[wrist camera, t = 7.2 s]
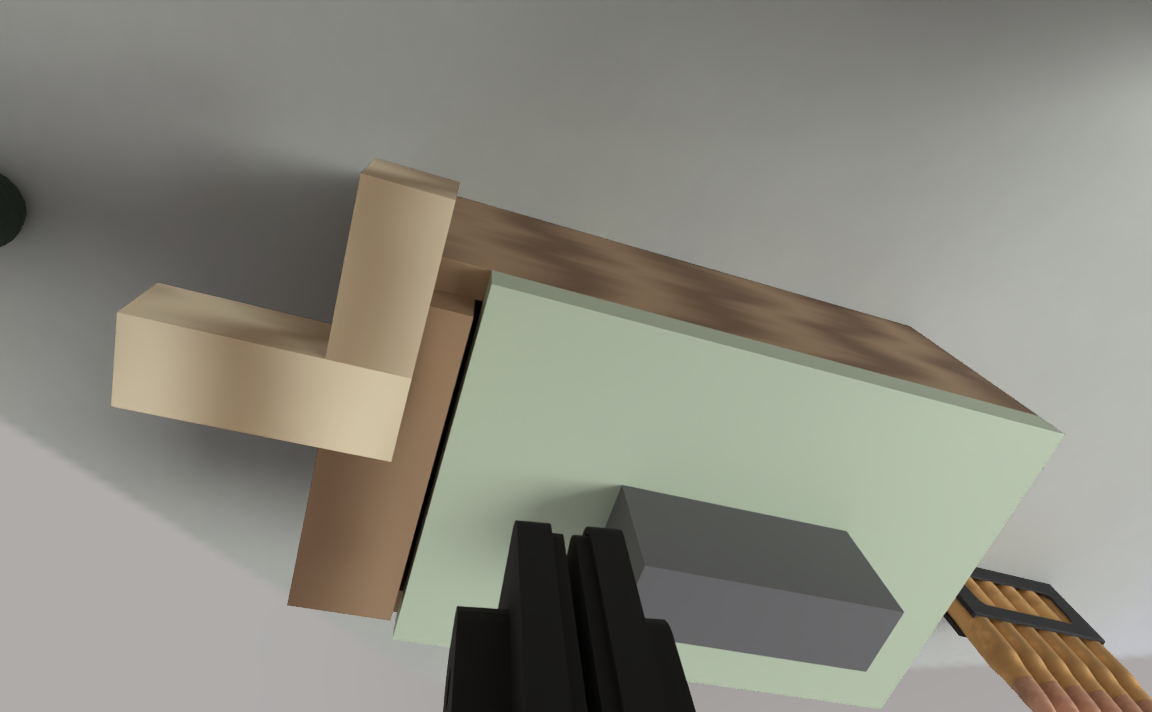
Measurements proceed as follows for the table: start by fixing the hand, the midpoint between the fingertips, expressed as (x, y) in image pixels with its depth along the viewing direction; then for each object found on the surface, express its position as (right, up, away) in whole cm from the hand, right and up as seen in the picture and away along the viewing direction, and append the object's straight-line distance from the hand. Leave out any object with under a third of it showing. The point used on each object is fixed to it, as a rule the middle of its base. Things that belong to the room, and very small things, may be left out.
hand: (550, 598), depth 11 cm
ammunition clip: (+28, -11, +36) cm, 47 cm away
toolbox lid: (+6, -3, +19) cm, 20 cm away
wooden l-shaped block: (-8, +6, +11) cm, 15 cm away
